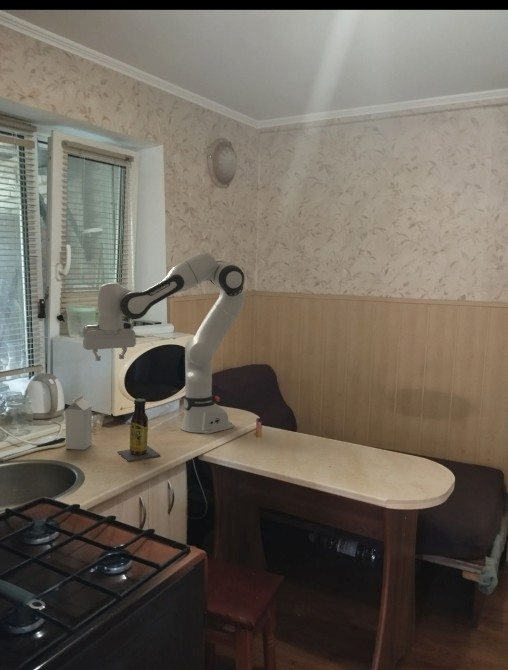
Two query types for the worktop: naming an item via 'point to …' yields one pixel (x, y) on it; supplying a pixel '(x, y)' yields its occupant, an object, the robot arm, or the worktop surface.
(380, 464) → the worktop surface
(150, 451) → the mat
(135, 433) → the sauce bottle
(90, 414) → the milk carton
